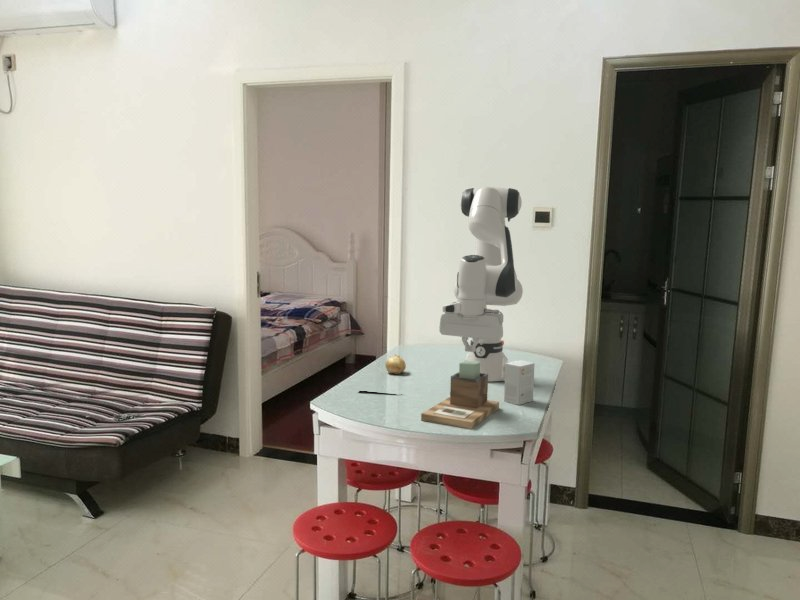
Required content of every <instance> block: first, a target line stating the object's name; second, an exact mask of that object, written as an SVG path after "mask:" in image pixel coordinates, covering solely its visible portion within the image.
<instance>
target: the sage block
mask: <svg viewBox="0 0 800 600" xmlns="http://www.w3.org/2000/svg"><path fill="white" fill-rule="evenodd" d="M458 367H459V368H458V369H459V370H458V372H459V377H463V378H471V379H478V378H480V362H475V361H467V360H462V361H461V362H459V366H458Z"/></svg>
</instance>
